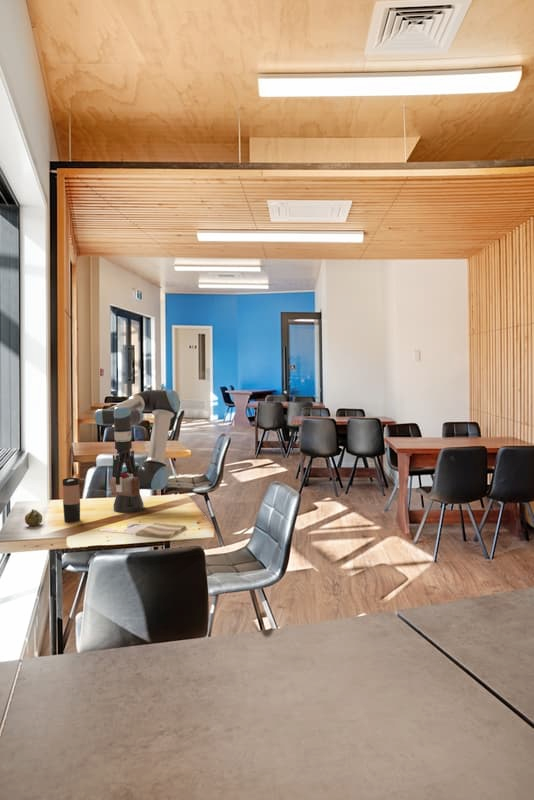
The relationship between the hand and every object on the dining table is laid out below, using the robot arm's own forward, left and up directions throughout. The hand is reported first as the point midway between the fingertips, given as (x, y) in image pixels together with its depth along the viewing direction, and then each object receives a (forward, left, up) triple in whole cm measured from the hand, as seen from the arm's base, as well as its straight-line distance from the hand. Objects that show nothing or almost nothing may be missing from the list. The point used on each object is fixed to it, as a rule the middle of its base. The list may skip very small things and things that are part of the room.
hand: (124, 489), depth 272 cm
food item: (0, 0, -3) cm, 3 cm away
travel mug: (0, -30, -17) cm, 35 cm away
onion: (+12, -42, -17) cm, 47 cm away
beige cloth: (+4, +21, -17) cm, 27 cm away
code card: (+3, +2, -17) cm, 17 cm away
